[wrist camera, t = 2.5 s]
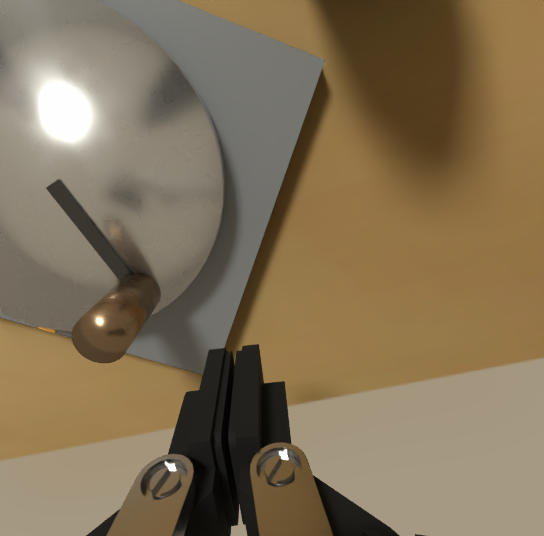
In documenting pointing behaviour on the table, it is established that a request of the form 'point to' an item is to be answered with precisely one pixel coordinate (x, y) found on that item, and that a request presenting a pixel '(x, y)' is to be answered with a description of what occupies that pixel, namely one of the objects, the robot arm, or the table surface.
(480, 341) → the table surface
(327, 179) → the table surface
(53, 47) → the dial
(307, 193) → the table surface
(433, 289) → the table surface
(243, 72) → the base plate
